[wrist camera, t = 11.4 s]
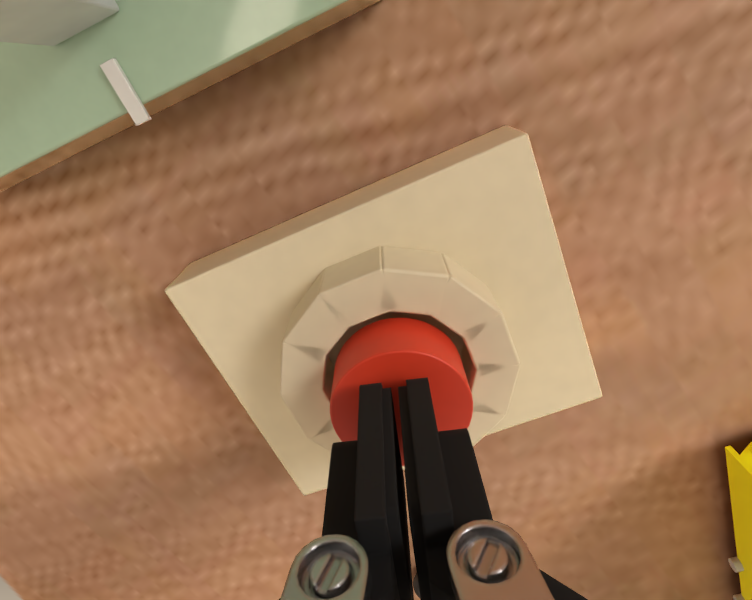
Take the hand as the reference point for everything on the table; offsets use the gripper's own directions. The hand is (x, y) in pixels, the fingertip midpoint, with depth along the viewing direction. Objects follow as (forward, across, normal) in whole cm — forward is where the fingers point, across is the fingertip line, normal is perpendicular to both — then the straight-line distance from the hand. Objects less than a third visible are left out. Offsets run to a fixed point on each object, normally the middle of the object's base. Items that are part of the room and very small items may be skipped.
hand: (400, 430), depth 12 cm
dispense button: (+2, 0, 0) cm, 2 cm away
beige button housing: (+6, 0, 0) cm, 6 cm away
